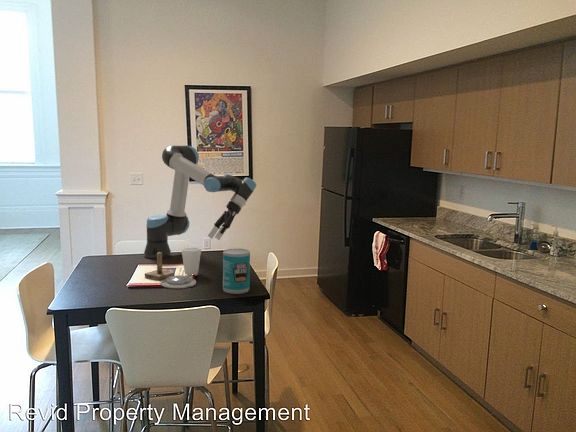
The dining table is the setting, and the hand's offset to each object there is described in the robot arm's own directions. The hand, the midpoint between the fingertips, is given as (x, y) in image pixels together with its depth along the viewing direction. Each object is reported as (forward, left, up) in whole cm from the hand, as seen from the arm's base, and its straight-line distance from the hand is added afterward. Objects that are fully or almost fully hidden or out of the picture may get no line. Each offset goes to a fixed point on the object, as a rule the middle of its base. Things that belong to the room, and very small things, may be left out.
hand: (213, 238), depth 245 cm
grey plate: (+6, -27, -17) cm, 33 cm away
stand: (-10, -26, -17) cm, 33 cm away
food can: (+32, -15, -18) cm, 40 cm away
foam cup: (-3, -12, -18) cm, 22 cm away
